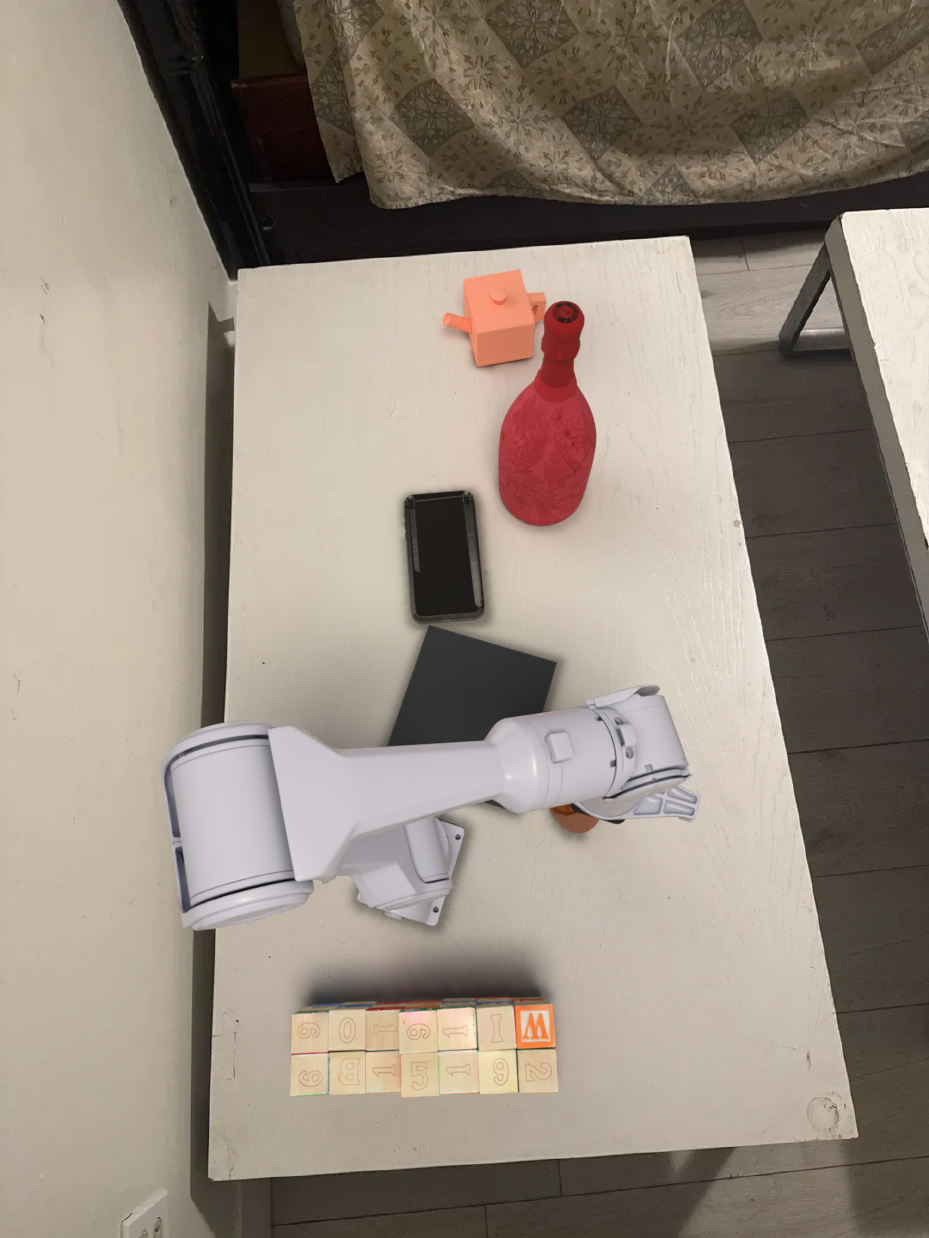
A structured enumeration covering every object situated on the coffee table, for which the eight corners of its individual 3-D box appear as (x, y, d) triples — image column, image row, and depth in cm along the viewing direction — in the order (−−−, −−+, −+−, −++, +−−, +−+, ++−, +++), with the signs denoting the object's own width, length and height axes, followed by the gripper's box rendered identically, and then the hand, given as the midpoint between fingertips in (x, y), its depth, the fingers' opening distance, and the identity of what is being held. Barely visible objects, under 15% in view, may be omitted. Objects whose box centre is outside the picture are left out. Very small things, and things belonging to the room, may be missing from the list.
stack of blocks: (309, 1079, 78) (279, 1103, 66) (311, 1002, 80) (282, 1013, 69) (548, 1070, 78) (560, 1093, 66) (543, 994, 80) (554, 1003, 69)
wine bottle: (585, 531, 96) (629, 363, 68) (496, 530, 97) (503, 362, 68) (583, 454, 100) (624, 263, 72) (497, 453, 100) (504, 262, 72)
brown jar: (595, 838, 84) (582, 813, 74) (549, 826, 85) (530, 799, 76) (606, 792, 85) (595, 762, 76) (561, 781, 87) (545, 750, 77)
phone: (473, 489, 97) (485, 615, 92) (473, 494, 98) (485, 618, 93) (402, 495, 97) (410, 621, 92) (403, 500, 98) (411, 625, 93)
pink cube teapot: (438, 324, 106) (434, 276, 99) (534, 307, 107) (538, 258, 99) (450, 377, 104) (448, 331, 96) (548, 359, 104) (554, 312, 97)
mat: (513, 811, 86) (514, 811, 85) (379, 770, 88) (379, 769, 87) (556, 663, 91) (556, 662, 91) (429, 626, 93) (429, 625, 92)
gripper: (722, 746, 65) (685, 778, 78) (535, 692, 67) (529, 731, 80) (702, 839, 63) (667, 855, 76) (509, 780, 65) (507, 806, 78)
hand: (595, 797), depth 78 cm, fingers closed, pressing on brown jar
